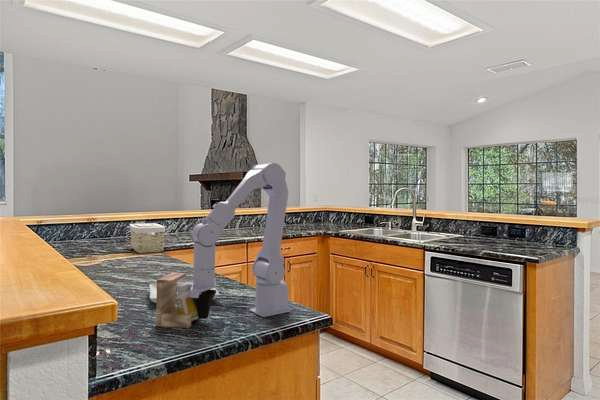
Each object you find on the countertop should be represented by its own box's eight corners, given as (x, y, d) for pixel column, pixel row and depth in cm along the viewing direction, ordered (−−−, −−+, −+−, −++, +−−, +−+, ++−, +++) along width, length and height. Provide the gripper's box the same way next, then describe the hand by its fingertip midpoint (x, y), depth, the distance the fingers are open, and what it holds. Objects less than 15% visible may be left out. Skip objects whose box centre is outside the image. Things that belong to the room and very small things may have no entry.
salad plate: (210, 288, 150) (210, 279, 150) (220, 304, 130) (220, 293, 130) (148, 292, 143) (148, 282, 143) (149, 309, 123) (149, 298, 123)
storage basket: (165, 252, 232) (166, 226, 232) (135, 253, 223) (135, 227, 223) (156, 246, 252) (156, 223, 252) (128, 248, 244) (128, 223, 244)
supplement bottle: (203, 314, 114) (195, 280, 114) (198, 319, 108) (189, 284, 109) (184, 319, 114) (176, 285, 114) (178, 324, 108) (170, 288, 109)
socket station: (202, 316, 116) (202, 273, 115) (188, 327, 106) (189, 281, 106) (172, 314, 117) (172, 272, 117) (156, 325, 107) (156, 279, 107)
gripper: (199, 262, 118) (199, 309, 118) (179, 272, 104) (178, 325, 104) (223, 263, 117) (222, 310, 117) (205, 273, 103) (205, 327, 103)
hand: (203, 317), depth 111 cm, fingers closed, pressing on supplement bottle
